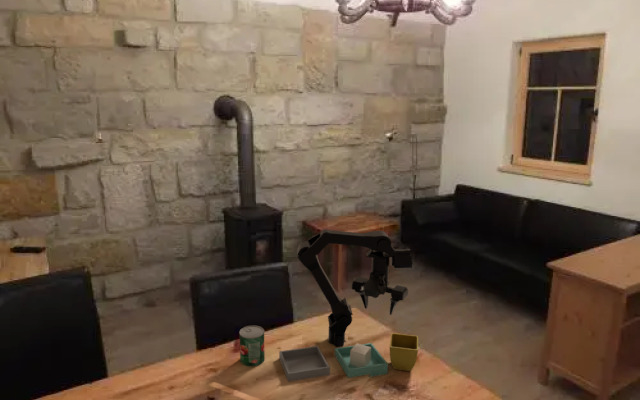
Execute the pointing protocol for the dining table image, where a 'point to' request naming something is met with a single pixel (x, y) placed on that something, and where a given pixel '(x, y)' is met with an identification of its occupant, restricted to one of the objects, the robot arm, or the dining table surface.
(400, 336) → the flower pot
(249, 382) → the dining table surface
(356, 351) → the stone block
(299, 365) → the charcoal bin
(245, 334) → the canned tomato
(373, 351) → the teal bin
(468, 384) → the dining table surface
